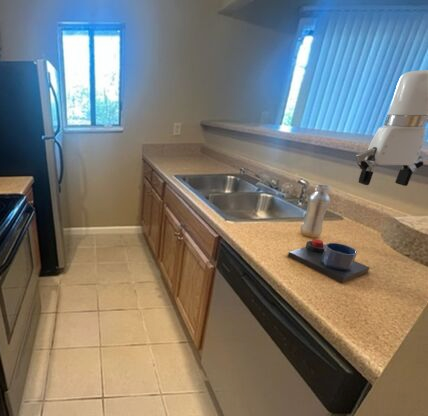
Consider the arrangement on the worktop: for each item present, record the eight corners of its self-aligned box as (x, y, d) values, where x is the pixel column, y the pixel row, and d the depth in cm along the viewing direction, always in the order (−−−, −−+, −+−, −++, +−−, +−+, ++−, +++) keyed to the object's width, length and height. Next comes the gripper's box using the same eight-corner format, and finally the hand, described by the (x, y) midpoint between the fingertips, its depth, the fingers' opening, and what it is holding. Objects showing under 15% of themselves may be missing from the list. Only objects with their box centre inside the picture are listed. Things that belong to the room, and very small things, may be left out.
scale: (367, 272, 83) (371, 262, 82) (341, 283, 78) (345, 273, 77) (311, 248, 97) (313, 239, 96) (286, 256, 92) (288, 247, 91)
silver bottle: (320, 241, 102) (335, 189, 95) (298, 236, 106) (311, 186, 99) (320, 234, 107) (335, 185, 99) (299, 230, 111) (312, 182, 103)
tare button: (324, 246, 92) (325, 242, 91) (318, 248, 91) (320, 243, 90) (315, 243, 94) (316, 238, 94) (309, 244, 93) (311, 240, 93)
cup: (356, 267, 82) (362, 251, 80) (341, 273, 80) (347, 256, 78) (329, 256, 88) (335, 241, 86) (315, 261, 86) (320, 245, 84)
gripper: (427, 120, 75) (404, 181, 81) (358, 121, 77) (340, 180, 83) (457, 122, 68) (428, 188, 74) (379, 123, 70) (358, 187, 76)
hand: (381, 184), depth 79 cm, fingers open, 9 cm apart
